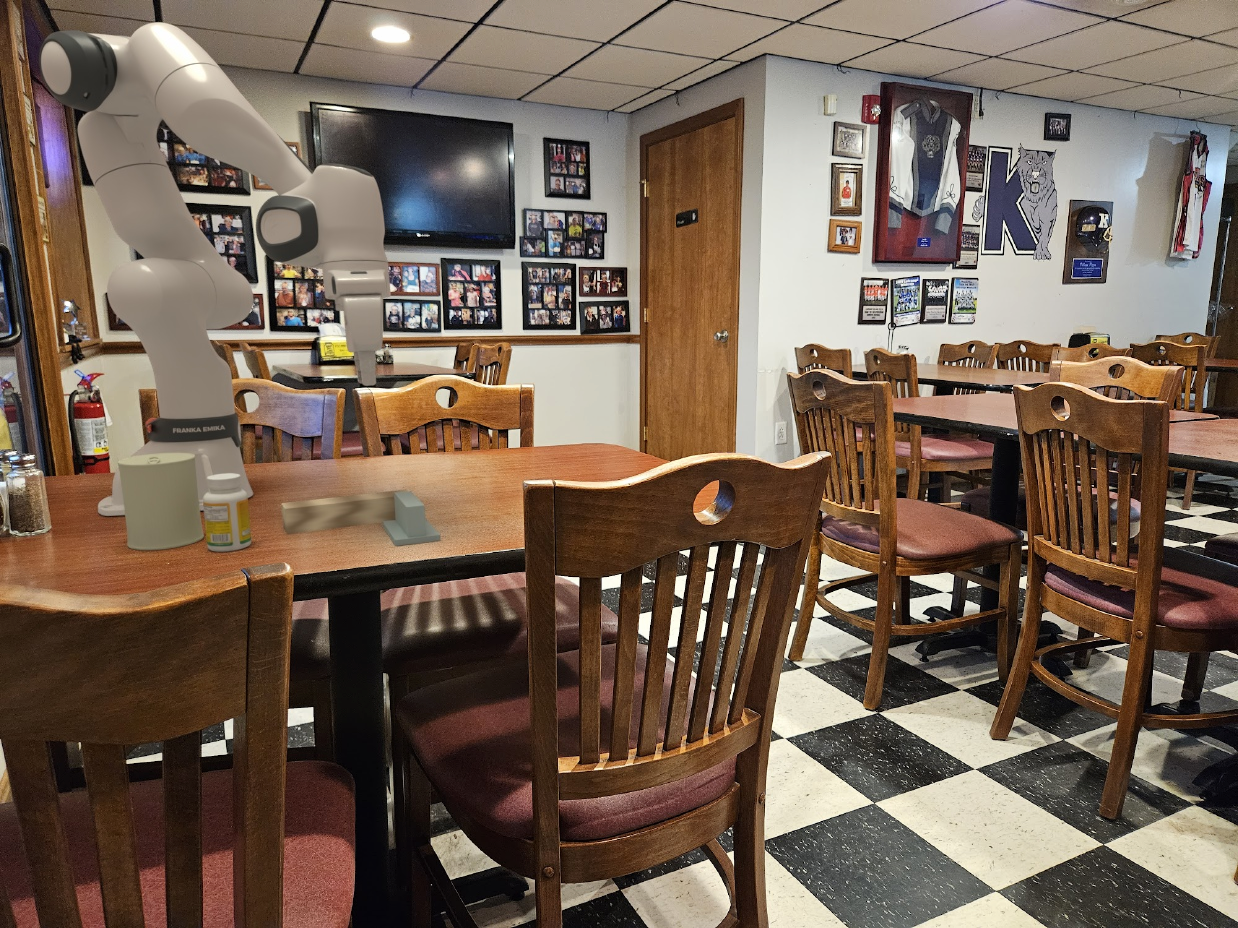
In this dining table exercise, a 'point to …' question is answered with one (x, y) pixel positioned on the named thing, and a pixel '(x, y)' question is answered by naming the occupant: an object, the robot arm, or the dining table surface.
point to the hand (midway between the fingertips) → (367, 384)
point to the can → (160, 500)
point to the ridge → (409, 521)
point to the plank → (338, 512)
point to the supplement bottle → (226, 513)
